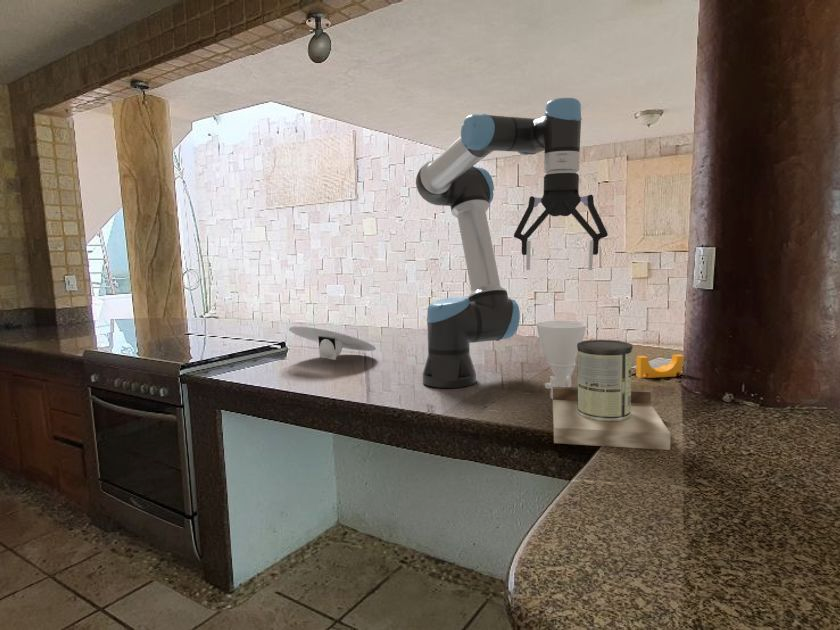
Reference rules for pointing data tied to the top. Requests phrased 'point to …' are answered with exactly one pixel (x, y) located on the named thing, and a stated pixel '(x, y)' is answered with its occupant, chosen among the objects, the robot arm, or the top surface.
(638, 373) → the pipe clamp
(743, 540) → the top surface
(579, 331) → the rocket engine
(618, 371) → the coffee can
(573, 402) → the birch platform
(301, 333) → the grey cake stand
